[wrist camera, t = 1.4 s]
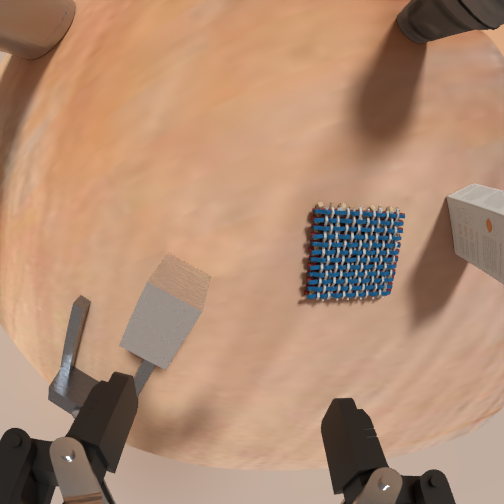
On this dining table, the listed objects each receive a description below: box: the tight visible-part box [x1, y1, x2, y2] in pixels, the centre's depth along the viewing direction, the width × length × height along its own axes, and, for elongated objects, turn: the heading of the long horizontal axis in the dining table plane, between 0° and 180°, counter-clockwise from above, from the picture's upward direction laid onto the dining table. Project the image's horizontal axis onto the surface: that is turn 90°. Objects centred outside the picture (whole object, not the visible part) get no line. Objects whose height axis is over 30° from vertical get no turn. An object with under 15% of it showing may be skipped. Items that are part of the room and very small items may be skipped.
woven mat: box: [304, 202, 405, 301], centre depth 28 cm, size 10×11×2 cm
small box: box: [447, 183, 504, 284], centre depth 22 cm, size 8×6×10 cm
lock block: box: [119, 252, 211, 370], centre depth 26 cm, size 5×8×7 cm, turn 148°
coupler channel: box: [48, 296, 155, 419], centre depth 29 cm, size 12×18×7 cm, turn 148°
